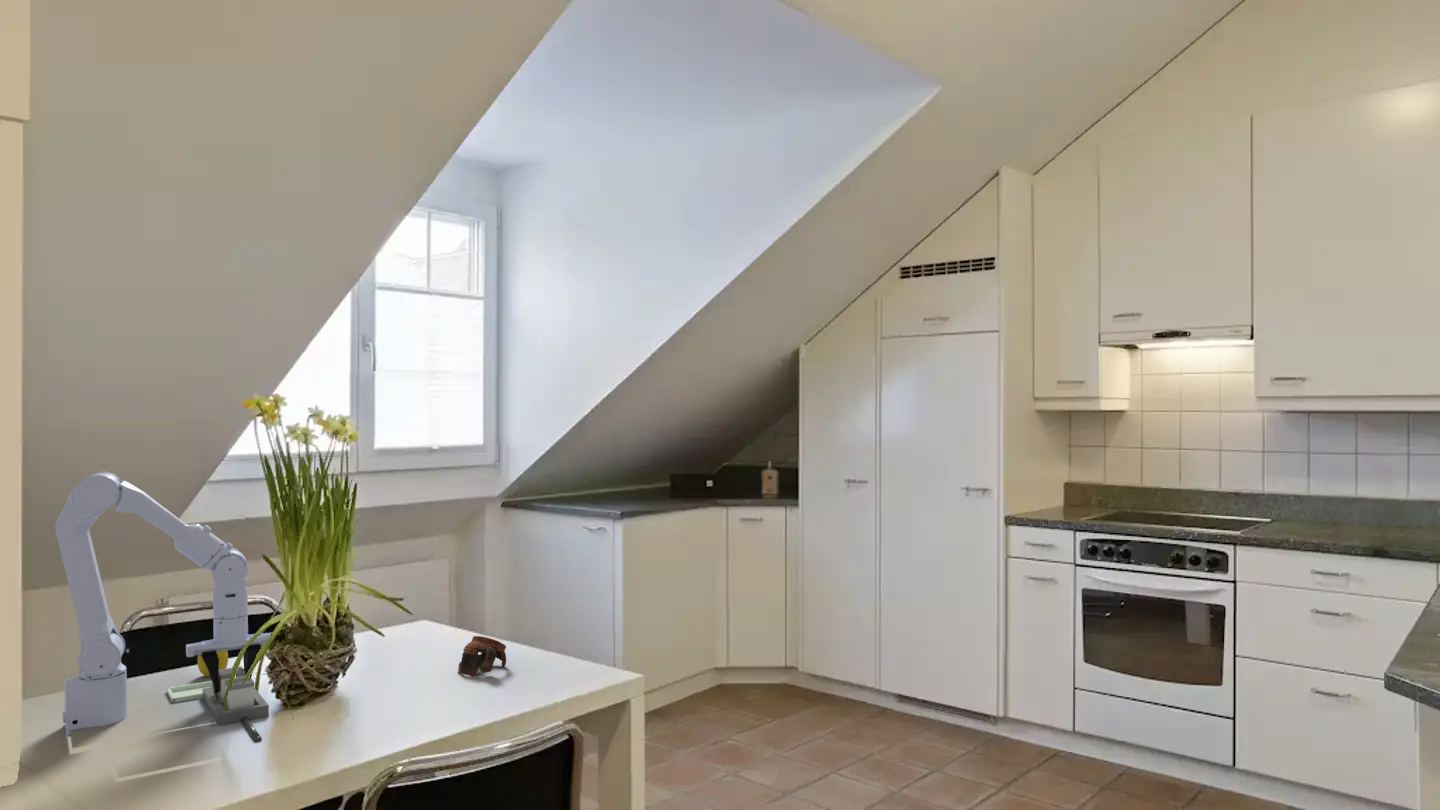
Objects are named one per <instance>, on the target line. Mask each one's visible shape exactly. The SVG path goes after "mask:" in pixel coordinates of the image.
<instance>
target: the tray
mask: <svg viewBox="0 0 1440 810" xmlns="http://www.w3.org/2000/svg"><path fill="white" fill-rule="evenodd" d="M210 687H213V684H212V680H207V681H202V682H201V681H200V682H196V683H191V684H190V683H189V684H184V685H177V686H171V687H167V688H166V694H167V695H168V698H169V699H170V701H171V703H172V704H175V703H180V702H187V701H192V700H198V699H203V689H204V688H210Z"/></svg>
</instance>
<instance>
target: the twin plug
mask: <svg viewBox="0 0 1440 810" xmlns="http://www.w3.org/2000/svg"><path fill="white" fill-rule="evenodd" d="M243 680H244V678H239V679H234V681H233V686H232V688H231V689H230V690H229V691H228V695H227V710H233V709H238V708H244V707H249V706H254V688H255V681H254V680H253V679H252V677H251V678H250V677H249V678H248V679H247V680H246V681H245V683H244V684H243V686H242V687H241V685H242V682H243ZM228 683H229V680H227V681H225V693H226V690H227V688H228Z"/></svg>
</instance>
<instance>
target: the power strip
mask: <svg viewBox="0 0 1440 810" xmlns="http://www.w3.org/2000/svg"><path fill="white" fill-rule="evenodd" d="M202 699H203V701H204V702H205V705H206V706H207V707H208V709H209V711H210V713H211V714H212V716H213V717H214V719H215V722H216V724H217V725H218V727H219V726H226V725H231V724H237V723H241V725H242V726H243V728H244V729H245V730H246V732H247V734H248V735H249V737H250V738H251V740H253V742H254V743H259V742H261V741H263V738H262V737H261V735H260V733H259V732H258V730H257V729H256V728H255V726H254V725H253V724H252V723H251V720H252V721H253V720H258V719H263V718H264V719H265V718H267V717H270V715H269V713H270V711H269V709H270V706H269V703H268V702H267V701H266V700H265V699H264V697H263V696H262V695H261V694H260V692H259V691H258V690H257V689H256V688H255V687H254V706H249V707H244V708H238V709H233V710H227V711H225V709H224V708H223V702H224V698H222V699H218V693H215V692H214V691H213V687H210V688H204V689H203V698H202Z"/></svg>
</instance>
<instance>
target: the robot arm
mask: <svg viewBox="0 0 1440 810" xmlns="http://www.w3.org/2000/svg"><path fill="white" fill-rule="evenodd" d="M115 505H116V506H117V507H116V509H115V510H114V511H115V512H117V513H118V512H119V513H130V514H136V515H137V516H139V517H141V518H142V519H144V520H145V521H147V523H149V524H151V525H153V526H154V527H155V528H157V529H158V530H160V531H161V532H163V533H165V534H166V535H167V536H169V537H170V538H173V542H174V549H175V550H176V551H177V552H179V553H180V554H181V555H183V556H184V557H186V558H188V560H190V561H192V562H193V563H195V564H196V565H197V566H199V567H200V568H202V569H203V570H209V571H211V575H212V577H213V579H214V590H213V593H212V607H213V608H212V614H213V615H212V618H213V623H212V624H213V639H209V640H208V639H207V640H202V641H199V642H195V643H194V642H193V643H187V644H185V655H186V658H192V657H195V656H198V655H201V657H202V659H203V661H204V663H205V665H206V667H207V669H208V671H209V674H210V677H209V678H210V679H211V680H210V681H212V684H213V691H214V692H215V693H218V692H219V690H220V686H219V658H218V654H217V653H216V652H221V651H227V652H228V651H232V650H240V649H243V648H244V646H245V645H246V643H247V642H248V641H249V640H250V639H251V638H252V637H253V636H254V635H255V634H256V633H252V634H249V623H248V622H249V619H248V618H249V617H248V614H249V613H248V612H249V610H248V609H249V607H248V606H249V605H248V599H249V598H248V589H247V585H248V584H247V583H248V582H247V581H248V580H247V578H246V577H247V575H248V572H249V566H248V564H247V563H248V562H247V558H246V557H245V555H244V554H243V553H242V552H241V551H240V549H237V548H233V547H234V546H233V544H232V543H230V542H227V543H226V542H225V541H223V540H222V539H220V538H219V537H217V536H216V535H215V534H213V533H212V532H211V531H212V528H211V527H210V526H209V525H207V524H205V525H204V526H202V524H199V523H191V524H187V523H185V522H184V521H183V520H181V519H180V518H178V517H177V516H176V515H174V513H172V512H171V511H169V510H168V509H167V508H166V507H164V506H163V505H161V503H159V502H158V501H156V500H155V499H154V498H152V497H151V496H150V495H149V494H148V493H146V492H145V491H143V490H142V489H140V488H138V487H137V486H135V485H134V484H132V483H130V482H128V481H126V480H121V479H120V477H119V476H118V475H117V474H115V473H112V472H108V471H98V472H94V473H92V474H91V475H89V476H88V477H86V478H84V479H83V480H81V482H79V484H77V485H76V486H75V487H74V488H73V489H72V490H71V491H70V493H69V495H68V497H67V500H66V502H65V504H64V506H63V507H62V510H61V511H60V514H59V516H58V518H57V520H56V522H55V524H54V525H55V526H54V527H55V528H54V530H55V534H56V538H57V542H58V546H59V551H60V555H61V558H62V562H63V567H64V570H65V574H66V575H65V576H66V580H67V583H68V587H69V590H70V591H69V592H70V595H71V599H72V604H73V608H74V610H75V611H74V612H75V616H76V620H77V624H78V638H79V639H78V640H79V644H80V652H79V655H78V656H77V664H78V668H79V671H78V673H77V676H75V677H72V678H71V677H70V678H66V679H64V686H63V687H64V711H63V712H62V722H63V724H64V727H65V733H66V736H71V731H74V730H79V729H85V728H93V727H103V726H107V725H112V724H116V723H118V722H121V721H123V720H126V718H127V717H128V690H127V689H128V685H127V683H128V679H127V677H128V675H127V666H126V665H125V664H123V663H122V656H123V654H124V653H125V650H126V642H125V639H124V637H123V636H122V635H121V634H120V633H119V632H118V631H117V629H116V627H115V622H114V620H113V618H112V616H111V614H110V610H109V607H108V602H107V598H106V593H105V589H104V585H103V582H102V577H101V573H100V569H99V565H98V561H97V560H98V559H97V557H96V553H95V548H94V544H93V540H92V537H91V532H90V528H91V527H92V526H93V524H95V522H96V520H98V518H99V517H100V516H101V515H102V514H104V513H105V512H107V511H108V510H110V508H112V507H114V506H115ZM271 633H272V632H265V633H260V634H261V635H260V636H258V637H257V638H256V639H255V640H254V641H253V642H252V643H251V644H250V645H249V647H248V648H247V650H246V652H245V654H244V656H243V655H242V659H243V669H244V670H245V675H246V674H247V672H248V670H249V669H250V667H251V665H252V664H253V662H254V660H255V658H256V655H257V653H258V652H259V650H260V649H262V648H261V646H265V645H264V644H265V642H266V641H267V639H268V638H269V637H270V635H271ZM253 672H254V671H253ZM253 672H252V674H251V675H250V678H251V679H252V676H253ZM74 721H75V722H76V721H77V722H76V723H73V722H74Z"/></svg>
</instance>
